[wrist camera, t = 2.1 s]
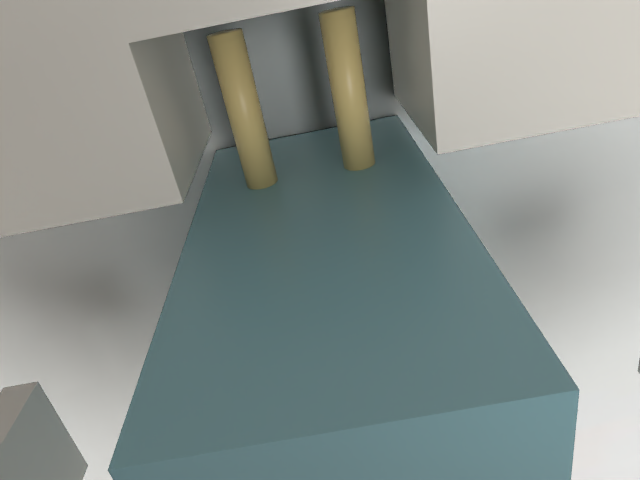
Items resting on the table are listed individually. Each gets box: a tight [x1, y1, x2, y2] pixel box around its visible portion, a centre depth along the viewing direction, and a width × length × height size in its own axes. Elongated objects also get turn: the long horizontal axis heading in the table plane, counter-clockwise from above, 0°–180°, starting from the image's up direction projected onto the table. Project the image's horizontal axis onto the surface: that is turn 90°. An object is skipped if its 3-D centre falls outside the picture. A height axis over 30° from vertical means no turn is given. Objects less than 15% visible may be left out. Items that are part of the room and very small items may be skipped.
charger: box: [108, 6, 579, 480], centre depth 11 cm, size 10×5×10 cm, turn 10°
